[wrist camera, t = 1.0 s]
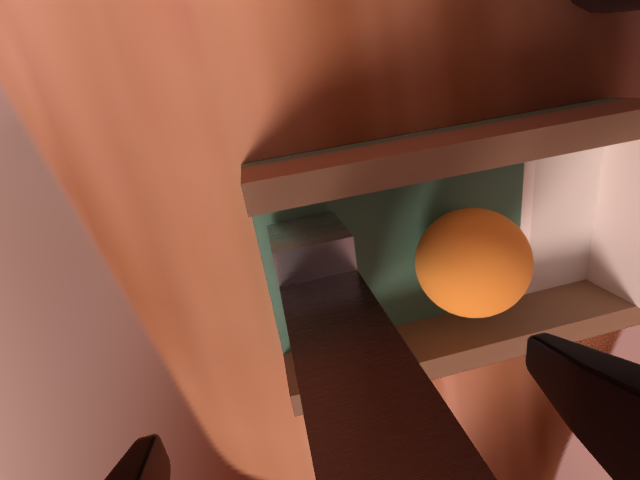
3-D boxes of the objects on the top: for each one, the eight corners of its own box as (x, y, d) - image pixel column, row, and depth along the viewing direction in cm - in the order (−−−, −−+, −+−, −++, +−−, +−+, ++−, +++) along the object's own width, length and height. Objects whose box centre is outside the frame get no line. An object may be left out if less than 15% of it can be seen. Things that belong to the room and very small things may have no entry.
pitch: (580, 284, 19) (717, 359, 14) (284, 357, 17) (305, 479, 12) (605, 98, 16) (801, 98, 10) (241, 164, 14) (240, 207, 8)
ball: (487, 275, 17) (556, 325, 13) (401, 295, 16) (448, 353, 12) (489, 187, 15) (569, 216, 11) (395, 206, 15) (446, 243, 11)
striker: (348, 319, 16) (527, 694, 6) (289, 334, 15) (374, 754, 6) (333, 211, 14) (555, 490, 4) (266, 225, 14) (330, 563, 4)
